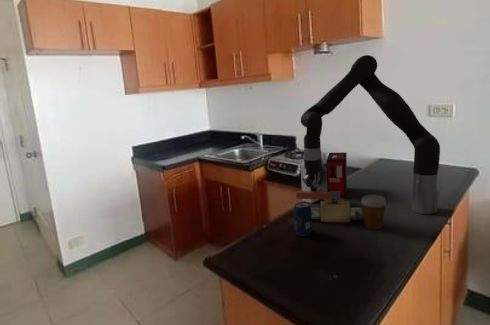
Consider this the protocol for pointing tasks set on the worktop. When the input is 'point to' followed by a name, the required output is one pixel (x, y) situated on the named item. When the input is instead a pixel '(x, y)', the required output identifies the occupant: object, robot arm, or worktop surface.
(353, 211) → the pipe valve
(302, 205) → the soda can
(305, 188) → the milk
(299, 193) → the lever
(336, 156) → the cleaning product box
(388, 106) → the robot arm
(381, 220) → the disposable coffee cup
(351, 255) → the worktop surface
